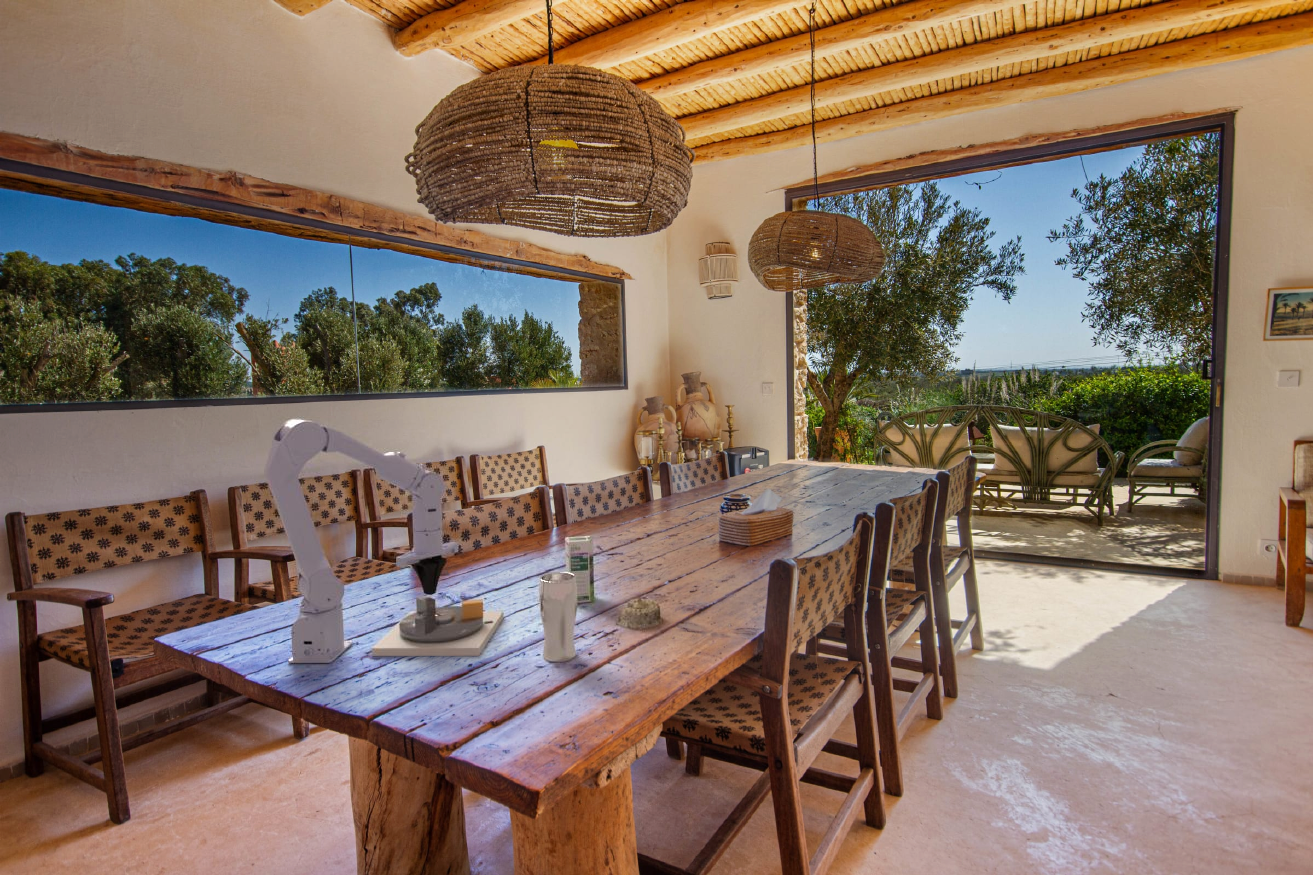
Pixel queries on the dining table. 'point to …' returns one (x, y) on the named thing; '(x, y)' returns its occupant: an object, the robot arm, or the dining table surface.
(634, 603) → the cake
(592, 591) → the syrup box
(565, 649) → the beer glass
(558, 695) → the dining table surface
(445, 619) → the rotary indexing table
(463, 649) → the plate
